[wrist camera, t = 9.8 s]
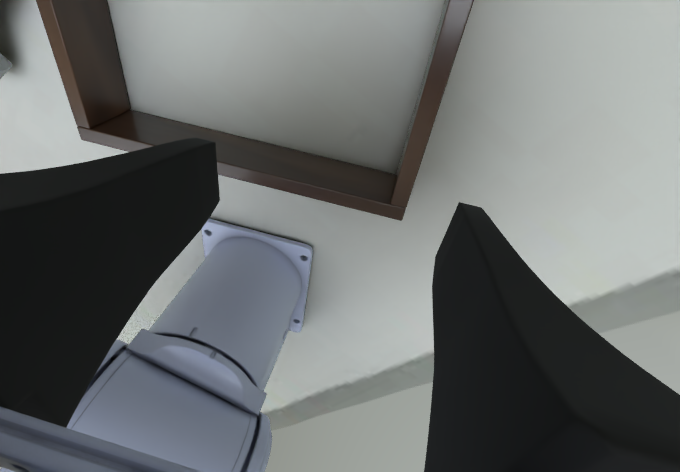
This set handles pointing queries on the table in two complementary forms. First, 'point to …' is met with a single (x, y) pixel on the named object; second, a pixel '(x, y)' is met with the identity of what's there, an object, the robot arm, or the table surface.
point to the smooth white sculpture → (4, 65)
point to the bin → (233, 151)
